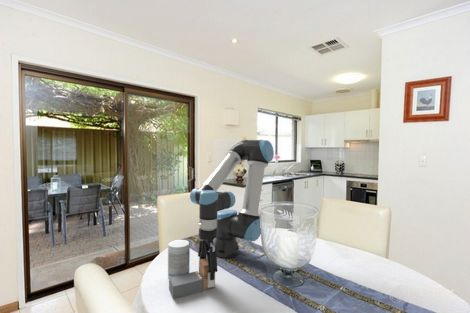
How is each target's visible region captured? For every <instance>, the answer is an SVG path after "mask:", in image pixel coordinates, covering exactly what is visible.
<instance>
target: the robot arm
mask: <svg viewBox="0 0 470 313" xmlns="http://www.w3.org/2000/svg"><path fill="white" fill-rule="evenodd" d="M274 152H275V151H274V146H273V144H272V143H271V141H269V140H266V139H245V140H241V141H239V142H238V143H236V144H234V145H233V146H232V147H230V148H229V150H228V151H227V152H226V154H225V157H224V158H223V159H222V161H221V162H220V164H218V166H217V167H216V168H215V169H214V171H213V172H212V173H211V174H210V175H209V177H208V178H206V180H205V181H204V183H203V184H202V185H201V186H200V188H199V187H198V188H197V187H196V188H193V189H192V190H191V191H190V194H189V199H190V201H191V202H192V203H193V204H195V205H198V206H199V208H198V209H199V215H198V216H199V220H198V221H197V223H198V226H199V229H198V237H199V238H198V239H199V243H198V253H197V257H199V259H198V260H200V259H205V258H207V260H208V267H209V271H207V272H208V288H210V287H214V283H215V284H216V273H217V272H218V258H223V259H227V258H228V259H229V258H234V257H236V256H238V255H239V253H240V248H239V244H238V239H242V240H245V241H248V242H256V241H257V240H258V239H259V238H260V237H261V235H262V233H261V228H260V219H261V214H260V213H259V207H260V202H261V195H262V187H263V181H264V175H265V168H267V167H268V166H269V162H272V161H273V159H274V155H275V154H274ZM243 161H246V163H247V164H248V172H247V177H246V184H245V189H244V195H243V202H242V207H241V209H240V210H239V211H237V210H235V209H230V208H232V207H234V205H235V203H236V196H235V194H234V193H233V192H232V191H222V192H221V191H218V190H219V189H220V188H221V187H222V185H223V183H224V182H225V180H227V178H228V177H229V176H230V174H231V173H232V172H233V171H234V169H235V168H236V166H237V165H240V164H241V163H242V162H243ZM237 238H238V239H237ZM217 257H218V258H217ZM214 288H215V287H214ZM210 289H211V288H210Z"/></svg>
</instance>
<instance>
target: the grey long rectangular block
mask: <svg viewBox="0 0 470 313" xmlns="http://www.w3.org/2000/svg"><path fill="white" fill-rule="evenodd" d="M168 279H169V280H168V290H169V292H170V295H171V298H172V300H176V299H179V298H184V297H187V296H190V295H194V294H198V293H201V292H203V291H204V290H203V278H202V277H201V275H200V274H199V270H198V271H192V272H189V273H187V274H182V275H178V276H173V277H168Z"/></svg>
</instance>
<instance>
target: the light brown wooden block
mask: <svg viewBox="0 0 470 313" xmlns="http://www.w3.org/2000/svg"><path fill="white" fill-rule="evenodd" d="M207 271H209V267H208V260H207V258H205V259H198V272H199V274H200V275H201V277H202V278H203V291H205V290H209V289H213V288H214V289H215V288H216V282H215V283H214V287H210V288H208V272H207Z"/></svg>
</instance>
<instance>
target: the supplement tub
mask: <svg viewBox="0 0 470 313" xmlns="http://www.w3.org/2000/svg"><path fill="white" fill-rule="evenodd" d="M167 245H168V247H167V277H168V278H169V277H173V276H178V275H182V274H187V273H190V259H191V258H190V257H191V256H190V255H191V254H190V253H191V252H190V251H191V249H190V241H188V240H186V239H175V240H172V241H170V242H168V244H167Z"/></svg>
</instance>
